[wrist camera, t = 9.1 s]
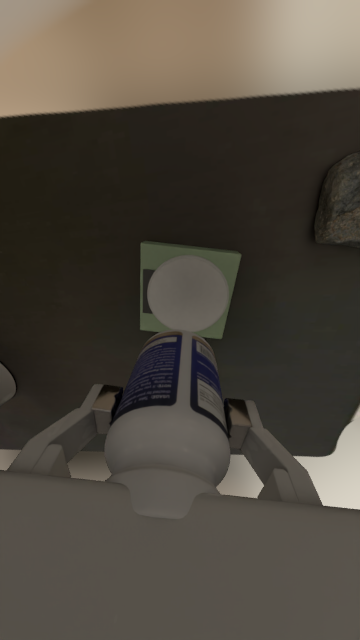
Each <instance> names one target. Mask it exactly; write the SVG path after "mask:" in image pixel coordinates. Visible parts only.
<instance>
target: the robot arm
mask: <svg viewBox="0 0 360 640" xmlns="http://www.w3.org/2000/svg"><path fill="white" fill-rule="evenodd" d="M15 392H16V385H15V381H14V379H13V377H12V375H11V374H10V373H9V371H8V370H7V369H6V368H5V367H4V366H3V365H2V364H1V363H0V406H1V405H2V404H3V403H5V402H6V401H8V400H9V399H11V398H12V397H13V396H14V394H15ZM122 394H123V387H118V386H111V385H103V384H94V385H93V387H92V388H91V390H90V392H89V393H88V395H87V397H86V399H85V400H84V402H83V404H82V405H81V407H80V408H76V409H75V410H73V411H72V412H70V413H69V414H67V415H66V416H64V417H63V418H61V419H60V420H58V421H57V422H55V423H54V424H52V425H51V426H49V427H48V428H46V429H45V430H43V431H42V432H40V433H39V434H38V435H36V436H35V437H33V438H32V439H30V440H29V441H28V442H27V444H26V445H25V446H24V448H23V449H22V450H21V452H20V453H19V454H18V456H17V457H16V459H15V460H14V461H13V463H12V464H11V465H10V467H9V468H8V469H7V471H4V470H0V640H360V510H357V509H348V508H338V507H330V506H323V505H322V502H321V500H320V498H319V496H318V494H317V491H316V489H315V487H314V485H313V483H312V480H311V478H310V476H309V474H308V472H307V470H306V469H305V468H304V467H303V466H302V465H301V464H300V463H299V462H298V461H297V460H296V459H295V458H294V457H293V456H292V455H291V454H290V453H289V452H288V451H287V450H286V449H285V448H284V447H283V446H282V445H281V444H280V443H279V442H278V441H277V439H276V438H275V437H274V436H273V435H272V434H271V433H270V432H269V431H268V430H267V429H263V426H262V423H261V420H260V417H259V414H258V411H257V408H256V406H255V403H254V401H249V400H241V399H230V398H226V399H225V400H224V413H225V419H226V425H227V432H228V436H229V446H230V448H236V449H241V451H242V453H243V454H244V456H245V457H246V459H247V460H248V462H249V463H250V464H251V466H252V468H253V469H254V471H255V472H256V474H257V475H258V477H259V478H260V480H261V481H262V483H263V484H264V487H263V488H262V490H261V492H260V494H259V495H258V499H257V498H248V497H239V496H230V495H221V494H212V493H200V494H198V495H196V496H195V498H194V500H193V502H192V505H191V507H190V509H189V512H188V514H187V515H186V516H184V517H183V518H181V519H167V518H155V517H149V516H144V515H139V514H137V513H136V512H135V511H134V510H133V507H132V503H131V497H130V490H129V489H128V487H127V486H125V485H123V484H121V483H113V482H104V481H95V480H85V479H76V478H71V475H70V472H69V468H68V465H67V463H68V462H69V461H70V460H71V459H72V458H73V457H74V456H75V455H76V454H77V453H78V452H79V451H80V450H81V449H83V448H84V447H85V446H86V445H87V444H88V443H89V442H90V441H91V440H92V439H93V438H94V437H95V436H96V435H97V433H99V434H108V431H109V428H110V426H111V423H112V420H113V418H114V416H115V413H116V411H117V408H118V406H119V404H120V401H121V399H122Z"/></svg>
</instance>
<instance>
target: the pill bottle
mask: <svg viewBox="0 0 360 640" xmlns="http://www.w3.org/2000/svg"><path fill="white" fill-rule="evenodd" d="M104 449H105V459H106V463H107V465H108V468H109V470H110V472H111V473H112V475H111V476H110V477H109V478H108V479H107V480H105V481H104V482H113V483H121V484H123V485H125V486H127V487H128V489H129V490H130V497H131V503H132V507H133V510H134V511H135V512H136V513H137V514H139V515H144V516H149V517H155V518H167V519H181V518H183V517H184V516H186V515H187V514H188V512H189V509H190V507H191V505H192V502H193V500H194V498H195V496H196V495H198V494H200V493H212V494H220V493H219V492H218V490H217V489H216V486H217V485H219V483H220V482H221V481H222V480H223V478H224V477H225V475H226V473H227V470H228V467H229V463H230V446H229V436H228V432H227V425H226V419H225V413H224V407H223V400H222V394H221V388H220V382H219V376H218V370H217V364H216V359H215V355H214V352H213V350H212V348H211V347H210V345H209V344H208V343H207V342H206V341H205V340H204V339H203V338H202V337H200V336H199V335H197V334H195V333H192V332H189V331H185V330H177V329H174V330H166V331H163V332H160V333H158V334H156V335H154V336H153V337H151V338H150V339H149V340H148V341H147V342H146V343H145V345H144V346H143V348H142V350H141V352H140V354H139V357H138V359H137V362H136V364H135V367H134V369H133V372H132V374H131V377H130V379H129V381H128V384H127V386H126V389H125V391H124V394H123V396H122V399H121V401H120V404H119V406H118V408H117V411H116V413H115V416H114V418H113V420H112V423H111V426H110V428H109V431H108V434H107V437H106V441H105V448H104Z"/></svg>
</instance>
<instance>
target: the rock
mask: <svg viewBox="0 0 360 640" xmlns="http://www.w3.org/2000/svg"><path fill="white" fill-rule="evenodd" d="M314 229H315V241H316V243H319V244H329V245H336V244H341V245H346V246H350V247H356V248H360V151H359V152H357V153H353V154H351V155H349V156H347V157H345V158H344V159H343V160H341V161H339V162H337V163H336V164H335V165H334V166H333V167H331V168H330V170H329V172H328V174H327V177H326V178H325V180H324V182H323V185H322V192H321V194H320V198H319V209H318V211H317V212H316V217H315V225H314Z"/></svg>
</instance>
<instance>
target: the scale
mask: <svg viewBox="0 0 360 640" xmlns="http://www.w3.org/2000/svg"><path fill="white" fill-rule="evenodd" d="M240 259H241V254H240V253H239V252H238V251H231V250H222V249H213V248H204V247H195V246H186V245H178V244H169V243H160V242H151V241H144V242H142V243H141V266H140V330H146V331H154V332H163V331H166V330H174V329H177V330H185V331H189V332H192V333H195V334H197V335H199V336H200V337H207V338H216V339H222V336H223V331H224V327H225V323H226V318H227V314H228V310H229V306H230V301H231V297H232V293H233V289H234V284H235V280H236V276H237V272H238V267H239V263H240Z"/></svg>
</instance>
